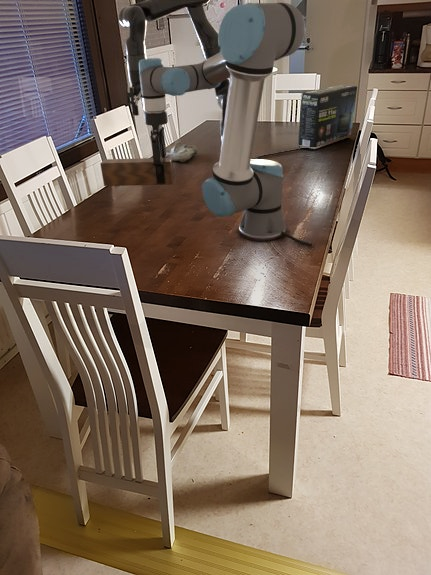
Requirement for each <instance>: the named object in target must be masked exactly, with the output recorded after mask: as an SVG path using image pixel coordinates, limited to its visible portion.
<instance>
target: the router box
mask: <svg viewBox="0 0 431 575" xmlns="http://www.w3.org/2000/svg"><path fill="white" fill-rule="evenodd" d="M357 93H358V86H356V85H350V84H339V85H338V84H337V85H334V86H328V87H324V88H318V89H314V90H309V91H304V92H301V93H300V109H299V110H300V111H299V124H298V137H297V146H298V145H302V146H307V147H317V146H320V145H323V144H325V143H328V142H331V141H333V140H336V139H338V138H341V137H344V136H347V135H351V136H352V133H353V132H352V131H353V125H354V115H355V109H356V99H357ZM311 151H313V150H312V149H311Z"/></svg>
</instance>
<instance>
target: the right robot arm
mask: <svg viewBox="0 0 431 575" xmlns="http://www.w3.org/2000/svg"><path fill="white" fill-rule="evenodd" d="M305 36H306V22H305V19H304V16H303V14H302V13H301V11H300V10H299V9H298V8H297V7H296V6H295V5H293V4H290V3H288V2H270V3H269V2H246V3H244V4H237V5H235V6H232V7H231V8H230V9H229V10H228V11H227V12H226V13H225V15H224V16H223V17H222V19H221V22H220V25H219V29H218V45H219V47H221V49H220V52H219V53H217V54H216V55H214V56H212V57H210V58H209V59H207V60H205V59H204V60H203V61H201V62H200V63H194V64H185V65H178V66H164V62H163V60H162V58H159V57H151V58H150V57H149V58H147V59H142V60H140V61H139V75H140V83H141V91H142V97H141V98H142V100H141V101H140V103H141V104H142V106H143V111H144V112H143V117H144V123H145V125H146V126H151V130H150V136H149V137H150V142H151V151H152V158H153V161H154V164H153V166H155V168H156V178H157V184H165V176H164V166H163V163H162V158H168V156H166V150H167V149H166V138H165V127H164V126H163V125H166V124H168V123H169V119H168V112H167V109H168V106H167V104H168V103H167V96H166V95H169V96H172V97H176V96H178V97H179V96H183V95H185V94H186V93H190V92H191V93H192V92H196V91H202V90H203V91H204V90H212V89H214V88H215V87H218V86H220V84H221V82H222V81H224V80H226V79H228V78H229V89H228V97H227V105H226V113H225V120H224V128H223V136H222V144H221V148H220V153H219V161H218V162H216V163H214V165H213V166H212V172H211V177H208V178H206V180H205V181H203V183H202V184H201V185H202V186H201V193H202V198H203V201H204V204H205V205H206V207H207V209H208V210H209V211H210V213H212V214H213V215H215V216H216V217H219V218H225V217H228V216H233V215H234V214H237V213H240V212H242V211H243V213H242V216H241V220H240V222H239V225H238V232H239V235H240V236H241V237H242V238H244V239H247V240H250V241H254V242H271V241H277V240H279V239H281V238H283V237H287V238H288V239H290V240H292V241H294V242H296V243H298V244H301V245H304V246H308V247H312V246H313V243H312V242H307V241H304V240H301V239H298V238H296V237H294V236H293V235H291V234H289V233H287V223H286V221H285V216H284V214H283V210H282V200H283V183H284V174H283V173H284V172H283V171H284V169H283V166H282V164H281V163H280V162H278V161H274V160H270V159H261V158H259V159H251V158H252V154H253V148H254V143H255V139H256V131H257V126H258V120H259V114H260V109H261V103H262V97H263V93H264V86H265V81H266V79H267V78H268V77H269V76H271V74H273V71H274V66H275V62H276V61H278V60H281V59H284V58H286V57H289V56H291V55H293V54H294V53H296V52H297V51H298V50H299V49H300V47H301V46H302V44H303V42H304V39H305Z"/></svg>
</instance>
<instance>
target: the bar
mask: <svg viewBox="0 0 431 575" xmlns="http://www.w3.org/2000/svg"><path fill="white" fill-rule="evenodd" d="M162 163H163V166H164V176H165V184H157V178H156V168H155V166H153V164H154V161H153V157H145V158H144V157H143V158H140V157H139V158H138V157H137V158H108V159H107V158H106V159H105V158H104V159H103V160H102V161H101V162H100V163H99V164H100V169H101V177H102V182H103V186H104V187H125V186H127V187H128V186H129V187H131V186H168V185H169V186H170V185H173V183H174V181H175V176H174V166H173V160H172V158H162Z"/></svg>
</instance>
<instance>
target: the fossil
mask: <svg viewBox="0 0 431 575" xmlns="http://www.w3.org/2000/svg"><path fill="white" fill-rule="evenodd" d="M198 153H199V150H198V148H197V146H195V145H188V146H187V145H186V143H184V142H183V143H181V142H176V143H175V145H174V146H173V147H172V148H171V149H170V150H168V149H166V156H168V158H172V161H174V162H177V161H179V162H180V163H185V162H187V161H188V160H190V159H191V158H192V157H193V156H194V155H197V154H198Z"/></svg>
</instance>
